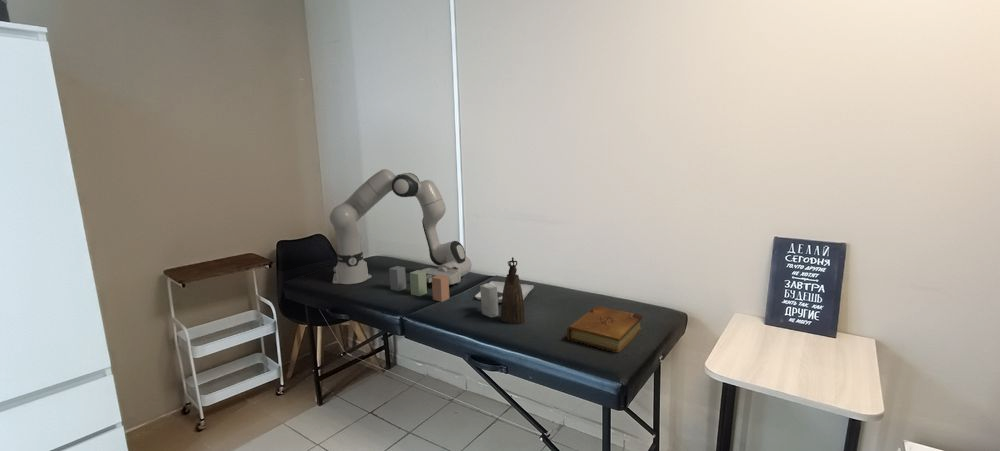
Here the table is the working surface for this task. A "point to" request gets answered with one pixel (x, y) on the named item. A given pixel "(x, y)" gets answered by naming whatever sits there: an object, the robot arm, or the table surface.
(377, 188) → the robot arm
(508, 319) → the statue
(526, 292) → the salad plate
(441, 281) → the terracotta block
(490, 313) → the skincare box
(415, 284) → the sage block
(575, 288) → the table surface
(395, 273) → the slate block
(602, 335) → the diary
